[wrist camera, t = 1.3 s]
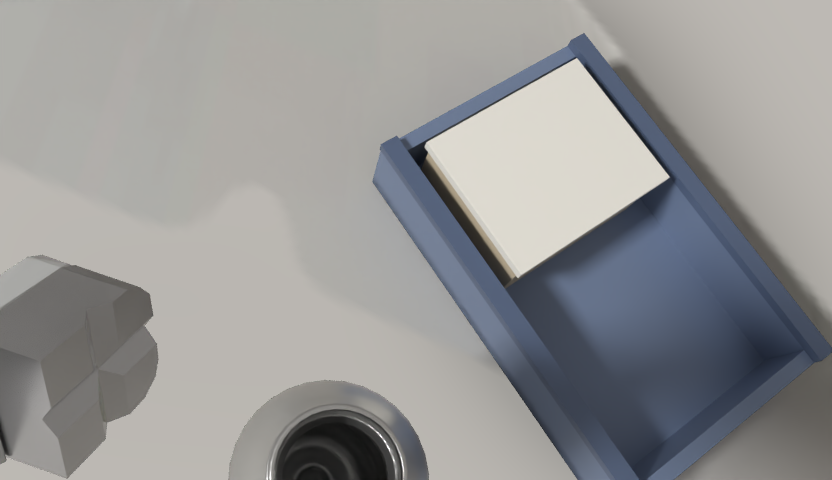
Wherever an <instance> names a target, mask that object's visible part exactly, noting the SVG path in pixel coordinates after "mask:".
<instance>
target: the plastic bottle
mask: <svg viewBox="0 0 832 480" xmlns="http://www.w3.org/2000/svg"><path fill="white" fill-rule="evenodd" d="M228 480H429V473H428V468H427V462H426V457H425V453H424V450H423V448H422V445H421V443H420V440H419V438H418V435H417V434H416V432H415V431H414V429H413V427H412V426H411V424H410V423H409V421H408V420H407V419H406V417H405V416H404V415H403V414H402V413H401V412H400V411H399V410H398V409H397V408H396V407H395V405H393V404H392V403H390V402H389V401H388V400H386V399H385V398H384V397H382V396H381V395H380V394H377V393H375V392H373V391H371V390H369V389H367V388H365V387H363V386H360V385H356V384H352V383H348V382H345V381H331V380H329V381H328V380H323V381H315V382H307V383H304V384H301V385H298V386H295V387H292V388H289V389H287V390H285V391H283V392H282V393H280V394H278V395H277V396H274V397H273V398H271V399H270V400H269V401H268V402H266V403H265V404H264V405H263V406H262V407H261V408H260V409H258V410H257V411H256V412H255V414H254V415H253V416H252V418H251V419H250V420H249V421H248V423H247V424H246V425H245V426H244V428H243V430H242V432H241V434H240V436H239V438H238V440H237V442H236V444H235V448H234V451H233V454H232V458H231V462H230V467H229V479H228Z"/></svg>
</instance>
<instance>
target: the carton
mask: <svg viewBox="0 0 832 480" xmlns="http://www.w3.org/2000/svg"><path fill="white" fill-rule="evenodd" d="M425 149H426V150H427V151H428V154H427V156H426V159H425V161H424V164H423V166H422V169H421V171H422V172H423V173H424V175H425V176H426V178H427V179H428V181H429V182H430V183H431V185H432V186H433V188H434V189H435V191H436V192H437V193H438V195H439V196H440V198H441V199H442V200H443V202H444V203H445V205H446V206H447V208H448V209H449V210H450V212H451V213H452V215H453V216H454V217H455V219H456V220H457V222H458V223H459V225H460V226H461V227H462V229H463V230H464V232H465V233H466V234H467V236H468V237H469V239H470V240H471V242H472V243H473V244H474V246H475V247H476V249H477V250H478V251H479V253H480V254H481V256H482V257H483V259H484V260H485V261H486V263H487V264H488V266H489V267H490V268H491V270H492V271H493V273H494V274H495V276H496V277H497V278H498V280H499V281H500V283H501V284H502V285H503V287H504V288H505V289H506V288H507V287H509V286H510V285H512V284H513V283H515V282H516V281H518V280H519V279H521V278H522V277H524V276H525V275H527V274H528V273H530V272H531V271H533V270H534V269H536V268H537V267H539V266H540V265H542V264H543V263H545V262H546V261H548V260H549V259H551V258H553V257H554V256H556V255H557V254H559V253H560V252H562V251H563V250H565V249H566V248H568V247H569V246H571V245H572V244H574V243H575V242H577V241H578V240H580V239H581V238H583V237H584V236H586V235H587V234H589V233H590V232H592V231H593V230H595V229H596V228H598V227H600V226H601V225H603V224H604V223H606V222H607V221H609V220H610V219H612V218H613V217H615V216H616V215H618V214H619V213H621V212H622V211H624V210H625V209H627V208H628V207H629V206H630V205H631V204H633V203H634V202H635V201H636V200H637V199H639V198H640V197H642V196H644V195H645V194H647V193H648V192H650V191H651V190H653V189H654V188H656V187H657V186H659V185H660V184H662V183H663V182H665V181H666V180H667V179H668V178H670V177H669V176H668V174H667V173H666V172H665V170H664V169H663V168H662V167H661V165H660V164H659V163H658V161H657V160H656V159H655V158H654V156H653V155H652V154H651V152H650V151H649V150H648V149H647V147H646V146H645V145H644V143H643V142H642V141H641V140H640V138H639V137H638V136H637V134H636V133H635V132H634V131H633V129H632V128H631V127H630V125H629V124H628V123H627V122H626V120H625V119H624V118H623V116H622V115H621V114H620V113H619V111H618V110H617V109H616V107H615V106H614V105H613V104H612V102H611V101H610V100H609V98H608V97H607V96H606V95H605V93H604V92H603V91H602V89H601V88H600V87H599V86H598V84H597V83H596V82H595V80H594V79H593V78H592V77H591V75H590V74H589V73H588V71H587V70H586V69H585V68H584V66H583V65H582V64H581V63H580V61H579V60H578V59H577V58H576V59H574V60H572V61H571V62H569V63H567V64H565V65H564V66H562V67H560V68H558V69H556V70H555V71H553V72H551V73H549V74H547V75H546V76H544V77H542V78H540V79H539V80H537V81H535V82H533V83H531V84H530V85H528V86H526V87H524V88H522V89H521V90H519V91H517V92H515V93H514V94H512V95H510V96H508V97H506V98H505V99H503V100H501V101H499V102H497V103H496V104H494V105H492V106H490V107H489V108H487V109H485V110H483V111H481V112H480V113H478V114H476V115H474V116H472V117H471V118H469V119H467V120H465V121H464V122H462V123H460V124H458V125H456V126H455V127H453V128H451V129H449V130H447V131H446V132H444V133H442V134H440V135H439V136H437V137H435V138H433V139H431V140H430V141H428V142H426V145H425Z"/></svg>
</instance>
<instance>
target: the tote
mask: <svg viewBox="0 0 832 480" xmlns="http://www.w3.org/2000/svg"><path fill="white" fill-rule="evenodd" d="M576 58H577V59H578V60H579V61H580V63H581V64H582V65H583V66H584V68H585V69H586V70H587V71H588V73H589V74H590V75H591V77H592V78H593V79H594V80H595V82H596V83H597V84H598V86H599V87H600V88H601V89H602V91H603V92H604V93H605V95H606V96H607V97H608V98H609V100H610V101H611V102H612V104H613V105H614V106H615V107H616V109H617V110H618V111H619V113H620V114H621V115H622V116H623V118H624V119H625V120H626V122H627V123H628V124H629V125H630V127H631V128H632V129H633V131H634V132H635V133H636V134H637V136H638V137H639V138H640V140H641V141H642V142H643V143H644V145H645V146H646V147H647V149H648V150H649V151H650V152H651V154H652V155H653V156H654V158H655V159H656V160H657V161H658V163H659V164H660V165H661V167H662V168H663V169H664V170H665V172H666V173H667V174H668V176H669V177H670V178H668V179H667V180H666V181H665V182H663V183H662V184H660V185H659V186H657V187H656V188H654V189H653V190H651V191H650V192H648V193H647V194H645V195H644V196H642V197H640V198H639V199H637V200H636V201H635V202H634V203H633V204H631V205H630V206H629V207H628V208H627V209H625V210H624V211H622V212H621V213H619V214H618V215H616V216H615V217H613V218H612V219H610V220H609V221H607V222H606V223H604V224H603V225H601V226H600V227H598V228H596V229H595V230H593V231H592V232H590V233H589V234H587V235H586V236H584V237H583V238H581V239H580V240H578V241H577V242H575V243H574V244H572V245H571V246H569V247H568V248H566V249H565V250H563V251H562V252H560V253H559V254H557V255H556V256H554V257H553V258H551V259H549V260H548V261H546V262H545V263H543V264H542V265H540V266H539V267H537V268H536V269H534V270H533V271H531V272H530V273H528V274H527V275H525V276H524V277H522V278H521V279H519V280H518V281H516V282H515V283H513V284H512V285H510V286H509V287H507V288H506V289H505V288H504V287H503V285H502V284H501V283H500V281H499V280H498V278H497V277H496V276H495V274H494V273H493V271H492V270H491V268H490V267H489V266H488V264H487V263H486V261H485V260H484V259H483V257H482V256H481V254H480V253H479V251H478V250H477V249H476V247H475V246H474V244H473V243H472V242H471V240H470V239H469V237H468V236H467V234H466V233H465V232H464V230H463V229H462V227H461V226H460V225H459V223H458V222H457V220H456V219H455V217H454V216H453V215H452V213H451V212H450V210H449V209H448V208H447V206H446V205H445V203H444V202H443V200H442V199H441V198H440V196H439V195H438V193H437V192H436V191H435V189H434V188H433V186H432V185H431V183H430V182H429V181H428V179H427V178H426V176H425V175H424V173H423V172H422V171H421V169H422V166H423V164H424V161H425V159H426V156H427V154H428V151H427V150H426V149H425V145H426V142H428V141H430V140H431V139H433V138H435V137H437V136H439V135H440V134H442V133H444V132H446V131H447V130H449V129H451V128H453V127H455V126H456V125H458V124H460V123H462V122H464V121H465V120H467V119H469V118H471V117H472V116H474V115H476V114H478V113H480V112H481V111H483V110H485V109H487V108H489V107H490V106H492V105H494V104H496V103H497V102H499V101H501V100H503V99H505V98H506V97H508V96H510V95H512V94H514V93H515V92H517V91H519V90H521V89H522V88H524V87H526V86H528V85H530V84H531V83H533V82H535V81H537V80H539V79H540V78H542V77H544V76H546V75H547V74H549V73H551V72H553V71H555V70H556V69H558V68H560V67H562V66H564V65H565V64H567V63H569V62H571V61H572V60H574V59H576ZM380 150H381V152H380V155H379V159H378V163H377V166H376V170H375V174H374V178H373V181H372V182H373V183H374V185H375V186H376V187H377V189H378V190H379V192H380V193H381V195H382V196H383V198H384V199H385V201H386V202H387V203H388V205H389V206H390V208H391V209H392V211H393V212H394V214H395V215H396V217H397V218H398V219H399V221H400V222H401V224H402V225H403V227H404V228H405V230H406V231H407V233H408V234H409V235H410V237H411V238H412V240H413V241H414V243H415V244H416V246H417V247H418V249H419V250H420V251H421V253H422V254H423V256H424V257H425V259H426V260H427V262H428V263H429V264H430V266H431V267H432V269H433V270H434V272H435V273H436V275H437V276H438V278H439V279H440V280H441V282H442V283H443V285H444V286H445V288H446V289H447V291H448V292H449V294H450V295H451V296H452V298H453V299H454V301H455V302H456V304H457V305H458V307H459V308H460V310H461V311H462V312H463V314H464V315H465V317H466V318H467V320H468V321H469V323H470V324H471V326H472V327H473V328H474V330H475V331H476V333H477V334H478V336H479V337H480V339H481V340H482V341H483V343H484V344H485V346H486V347H487V349H488V350H489V352H490V353H491V355H492V356H493V357H494V359H495V360H496V362H497V363H498V365H499V366H500V368H501V369H502V371H503V372H504V373H505V375H506V376H507V378H508V379H509V381H510V382H511V384H512V385H513V386H514V388H515V389H516V391H517V392H518V394H519V395H520V397H521V398H522V400H523V401H524V403H525V404H526V405H527V407H528V408H529V410H530V411H531V412H532V414H533V416H534V417H535V418H536V420H537V421H538V423H539V424H540V426H541V427H542V429H543V430H544V432H545V433H546V434H547V436H548V437H549V439H550V440H551V442H552V443H553V445H554V446H555V447H556V449H557V450H558V452H559V453H560V455H561V456H562V458H563V459H564V461H565V462H566V463H567V465H568V466H569V468H570V469H571V470H572V472H573V473H574V475H575V476H576V478H577V480H674V479H675V478H676V477H677V476H679V475H680V474H681V473H682V472H683V471H685V470H686V469H687V468H688V467H689V466H691V465H692V464H693V463H694V462H695V461H697V460H698V459H699V458H700V457H701V456H703V455H704V454H705V453H706V452H707V451H709V450H710V449H711V448H712V447H713V446H715V445H716V444H717V443H718V442H719V441H721V440H722V439H723V438H724V437H725V436H727V435H728V434H729V433H730V432H732V431H733V430H734V429H735V428H736V427H738V426H739V425H740V424H741V423H742V422H744V421H745V420H746V419H747V418H748V417H750V416H751V415H752V414H753V413H754V412H756V411H757V410H758V409H759V408H760V407H762V406H763V405H764V404H765V403H766V402H768V401H769V400H770V399H771V398H772V397H774V396H775V395H776V394H777V393H778V392H780V391H781V390H782V389H783V388H784V387H786V386H787V385H788V384H789V383H790V382H792V381H793V380H794V379H795V378H796V377H798V376H799V375H800V374H801V373H802V372H804V371H805V370H806V369H807V368H808V367H810V366H811V365H812V364H813V363H815V362H819V361H822V360H823V359H824V358H826V357H827V356H828V355H829V354H830V353H832V347H831V346H830V345H829V344H828V342H827V341H826V340H825V338H824V337H823V336H822V335H821V333H820V332H819V331H818V330H817V328H816V327H815V326H814V325H813V323H812V322H811V321H810V319H809V318H808V317H807V316H806V314H805V313H804V312H803V311H802V309H801V308H800V307H799V305H798V304H797V303H796V302H795V300H794V299H793V298H792V297H791V295H790V294H789V293H788V291H787V290H786V289H785V288H784V286H783V285H782V284H781V283H780V281H779V280H778V279H777V278H776V276H775V275H774V274H773V272H772V271H771V270H770V269H769V267H768V266H767V265H766V264H765V262H764V261H763V260H762V258H761V257H760V256H759V255H758V253H757V252H756V251H755V250H754V248H753V247H752V246H751V244H750V243H749V242H748V241H747V239H746V238H745V237H744V236H743V234H742V233H741V232H740V230H739V229H738V228H737V227H736V225H735V224H734V223H733V222H732V220H731V219H730V218H729V217H728V215H727V214H726V213H725V211H724V210H723V209H722V208H721V206H720V205H719V204H718V203H717V201H716V200H715V199H714V197H713V196H712V195H711V194H710V192H709V191H708V190H707V189H706V187H705V186H704V185H703V183H702V182H701V181H700V180H699V178H698V177H697V176H696V175H695V173H694V172H693V171H692V170H691V168H690V167H689V166H688V164H687V163H686V162H685V161H684V159H683V158H682V157H681V156H680V154H679V153H678V152H677V150H676V149H675V148H674V147H673V145H672V144H671V143H670V142H669V140H668V139H667V138H666V136H665V135H664V134H663V133H662V131H661V130H660V129H659V128H658V126H657V125H656V124H655V122H654V121H653V120H652V119H651V117H650V116H649V115H648V114H647V112H646V111H645V110H644V109H643V107H642V106H641V105H640V103H639V102H638V101H637V100H636V98H635V97H634V96H633V95H632V93H631V92H630V91H629V89H628V88H627V87H626V86H625V84H624V83H623V82H622V81H621V79H620V78H619V77H618V75H617V74H616V73H615V72H614V70H613V69H612V68H611V67H610V65H609V64H608V63H607V62H606V60H605V59H604V58H603V56H602V55H601V54H600V53H599V51H598V50H597V49H596V48H595V46H594V45H593V44H592V42H591V41H590V40H589V39H588V37H587V36H586V35H585V34H584V33H583V34H581V35H580V36H578V37H576V38H574V39H572V40H571V41H570V43H569V44H568V46H567V47H565V48H563V49H561V50H559V51H557V52H556V53H554V54H552V55H550V56H548V57H547V58H545V59H543V60H541V61H539V62H537V63H536V64H534V65H532V66H530V67H528V68H527V69H525V70H523V71H521V72H519V73H517V74H516V75H514V76H512V77H510V78H508V79H507V80H505V81H503V82H501V83H499V84H498V85H496V86H494V87H492V88H490V89H488V90H487V91H485V92H483V93H481V94H479V95H478V96H476V97H474V98H472V99H470V100H468V101H467V102H465V103H463V104H461V105H459V106H458V107H456V108H454V109H452V110H450V111H448V112H447V113H445V114H443V115H441V116H439V117H438V118H436V119H434V120H432V121H430V122H428V123H427V124H425V125H423V126H421V127H419V128H418V129H416V130H414V131H412V132H410V133H408V134H407V135H405V136H403V137H401V138H398V137H397V136H395V137H394V138H392V139H390V140H388V141H386V142H384V143H383V144H381V147H380Z"/></svg>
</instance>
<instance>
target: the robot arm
mask: <svg viewBox="0 0 832 480" xmlns="http://www.w3.org/2000/svg"><path fill="white" fill-rule="evenodd" d="M152 316H153V311H152V305H151V299H150V294H149V293H147V292H146V291H144V290H143V289H141V288H140V287H138V286H135V285H132V284H129V283H126V282H123V281H120V280H117V279H114V278H111V277H108V276H105V275H102V274H99V273H96V272H93V271H91V270H87V269H85V268H82V267H79V266H76V265H70V264H67V263H64V262H61V261H58V260H56V259H53V258H50V257H47V256H44V255H39V256H31V257H27V258H25V259H24V260H22V261H21V262H19V263H18V264H16V265H14V266H13V267H11V268H10V269H8V270H7V271H5V272H4V273H2V274H1V275H0V464H2V463H4V462H5V461H6V457H8V458H11V459H13V460H16V461H19V462H22V463H25V464H28V465H30V466H33V467H36V468H39V469H41V470H44V471H47V472H50V473H53V474H56V475H58V476H61V477H64V478H68V477H69V476H70V475H71V474H72V473H73V472H74V471H75V470H76V469H77V468H78V467H79V466H80V465H81V464H82V463H83V462H84V461H85V460H86V459H87V458H88V457H89V456H90V455H91V454H92V453H93V451H95V450H96V448H97V447H98V446H99V445H100V444H101V443H102V442H103V441H104V440H105V439H106V429H107V422H110V421H113V420H115V419H118V418H120V417H123V416H126V415H128V414H130V413H131V412H132V411H133V410H134V409H135V408H136V407H137V406H138V405H139V403H140V402H141V401H142V400H143V399H144V398H145V396H146V394H147V392H148V390H149V388H150V386H151V384H152V382H153V380H154V378H155V376H156V370H157V364H158V351H157V343H156V342H155V340H154V339H153V337H152V336H151V335H150V333H149V332H148V330H147V329H146V327H145V325H146V324H147V322H148V321H149V320H150V319H151V317H152Z"/></svg>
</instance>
